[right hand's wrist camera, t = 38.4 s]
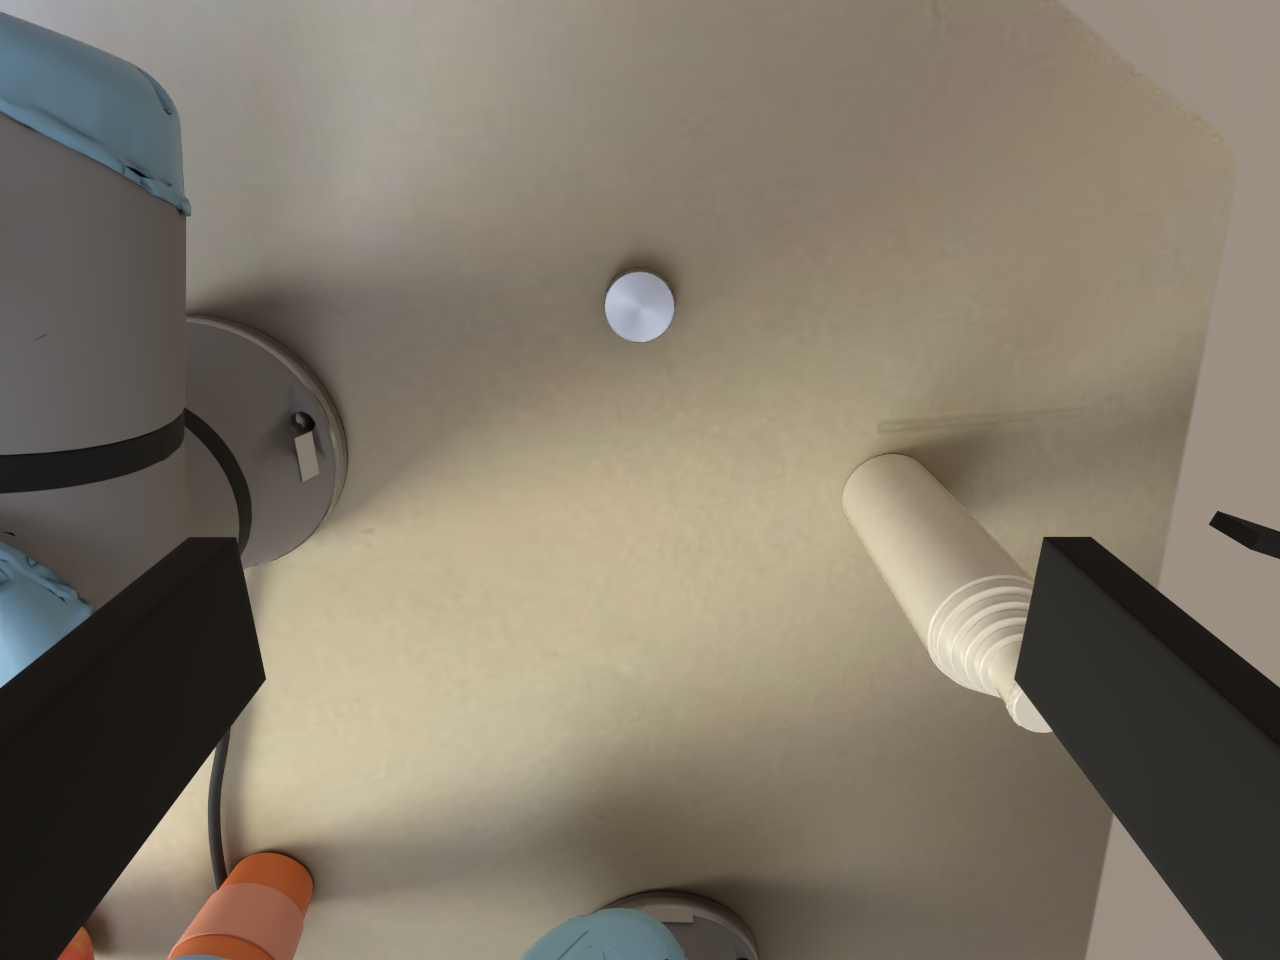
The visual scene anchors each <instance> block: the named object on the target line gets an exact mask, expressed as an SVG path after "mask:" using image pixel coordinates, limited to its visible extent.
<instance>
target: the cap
mask: <svg viewBox="0 0 1280 960" xmlns="http://www.w3.org/2000/svg"><path fill="white" fill-rule="evenodd" d="M606 293H607V294H606V298H605V301H604V309H605V318H606V319H607V322H608V324H609V325H610V327H611V329H612V330H613V331H614V332H615V333H616V334H617V335H619V336H620V337H622V338H624V339H626V340H628V341H632V342H647V341H651V340H653V339H656V338H657V337H659V336H660V335H662V334H663V333H664V332H665V331H666V330H667V328H668V327H669V325H670V324H671V322H672V320H673V316H674V310H675V304H674V298H673V296H674V294H673V291H671V288H670V286H669V284H668V281H666V280H665V279H664V278H663V277H662V276H661V275H660V274H659V272H658V273H657V272H655V271H653V270H650V269H648V268H647V267H646V268H636V267H634V268H633V269H629V270H626V271H622V273H621V274H619V275H618V276H617V277H616V278H615V279H614V278H613V281H612V283H611V284H610V286H609V288H608V289H607V291H606Z"/></svg>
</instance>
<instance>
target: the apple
mask: <svg viewBox="0 0 1280 960" xmlns="http://www.w3.org/2000/svg"><path fill="white" fill-rule="evenodd" d="M57 960H94V952H93V946H92V942H91V939H90V937H89V935H88V933H87V931H86V930H85V929H84V928H83V927H81V928H80V930H79V931H78V932H77V934H76V935H75V936H74V938H73V939H72V940H71V942H70V943H69V944H68V946H67V947H66V948H65V950H64V951H63V952H62V954H61V955H60V956H59V958H58V959H57Z"/></svg>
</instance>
